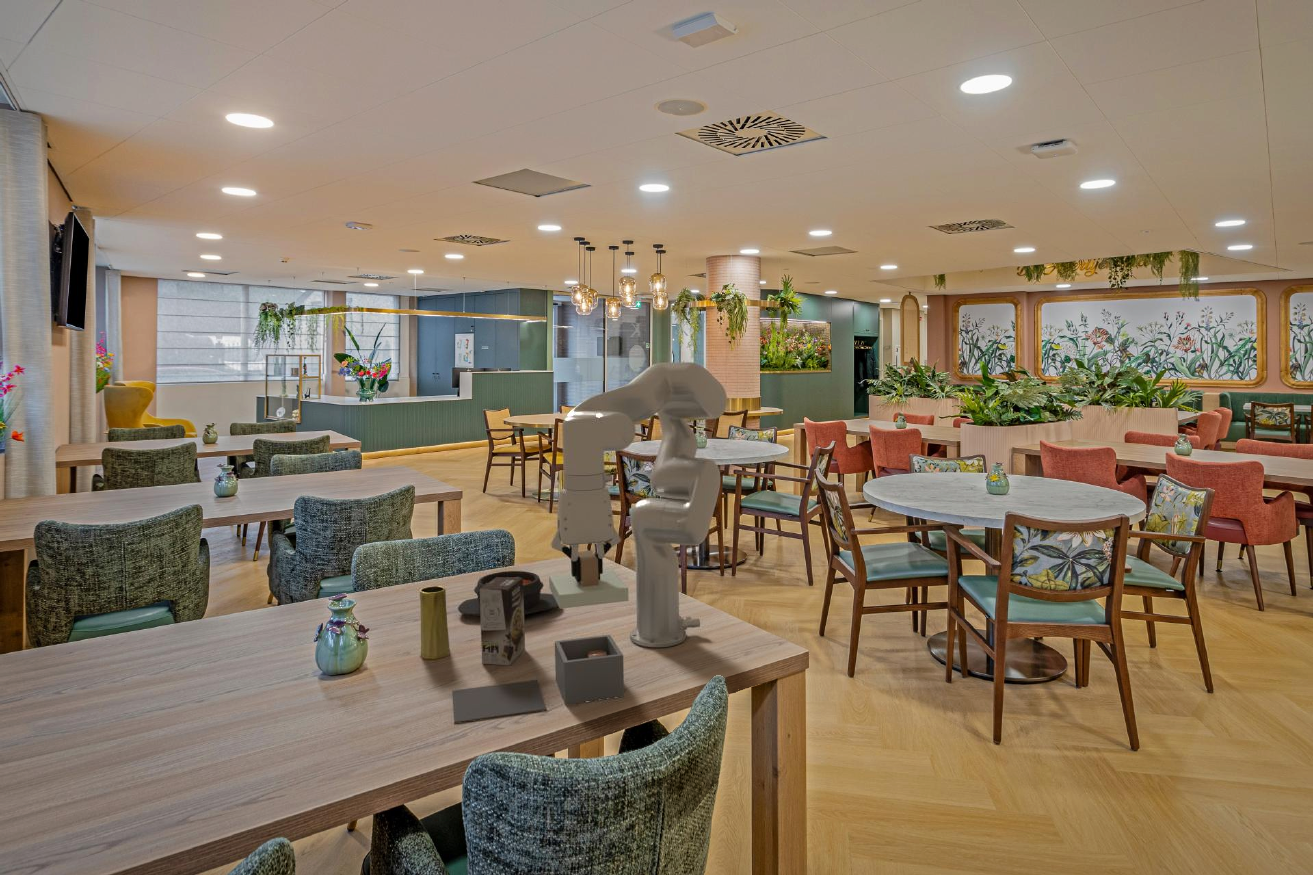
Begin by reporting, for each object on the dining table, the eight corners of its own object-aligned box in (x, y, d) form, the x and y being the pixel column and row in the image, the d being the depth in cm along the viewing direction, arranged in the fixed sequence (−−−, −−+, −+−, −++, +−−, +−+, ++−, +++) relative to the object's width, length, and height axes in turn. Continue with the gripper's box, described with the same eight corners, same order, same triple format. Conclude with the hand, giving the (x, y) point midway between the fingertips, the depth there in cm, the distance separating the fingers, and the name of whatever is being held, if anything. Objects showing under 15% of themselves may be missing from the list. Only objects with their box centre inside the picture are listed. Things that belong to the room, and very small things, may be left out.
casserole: (455, 628, 178) (454, 593, 177) (460, 603, 196) (459, 571, 195) (562, 620, 183) (561, 586, 182) (558, 596, 201) (557, 565, 200)
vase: (434, 662, 158) (431, 595, 157) (414, 656, 162) (411, 591, 160) (456, 652, 164) (453, 587, 162) (436, 646, 167) (433, 583, 165)
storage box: (610, 673, 151) (609, 634, 151) (624, 696, 141) (623, 655, 140) (555, 680, 148) (554, 641, 147) (565, 705, 138) (564, 662, 137)
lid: (612, 581, 151) (611, 544, 150) (628, 600, 139) (627, 560, 138) (549, 587, 147) (548, 550, 146) (559, 608, 135) (558, 567, 134)
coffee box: (510, 666, 156) (507, 589, 154) (480, 664, 157) (477, 588, 155) (526, 649, 165) (524, 576, 163) (498, 647, 166) (496, 575, 164)
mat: (537, 681, 148) (537, 679, 148) (546, 710, 136) (546, 708, 136) (452, 692, 144) (452, 690, 144) (454, 723, 131) (454, 722, 131)
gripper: (622, 476, 146) (624, 569, 148) (537, 482, 142) (541, 577, 144) (632, 482, 139) (634, 580, 141) (543, 489, 135) (546, 589, 137)
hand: (587, 578), depth 143 cm, fingers closed on lid, 3 cm apart
